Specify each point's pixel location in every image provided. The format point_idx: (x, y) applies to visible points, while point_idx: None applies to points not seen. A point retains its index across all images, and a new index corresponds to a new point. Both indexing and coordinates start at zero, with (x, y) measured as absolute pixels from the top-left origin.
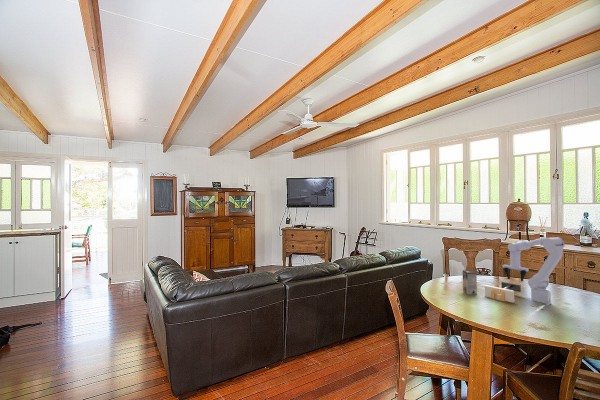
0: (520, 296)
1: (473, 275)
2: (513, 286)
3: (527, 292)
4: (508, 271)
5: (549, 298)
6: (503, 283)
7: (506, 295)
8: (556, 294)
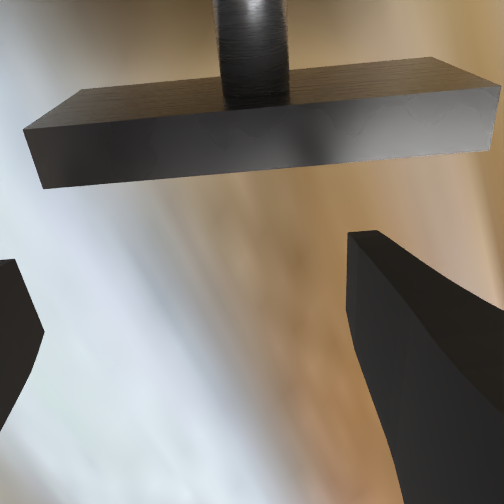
0: None
1: None
2: (191, 97)
3: (192, 377)
4: (460, 472)
5: None
6: (432, 83)
7: None
8: (17, 497)
